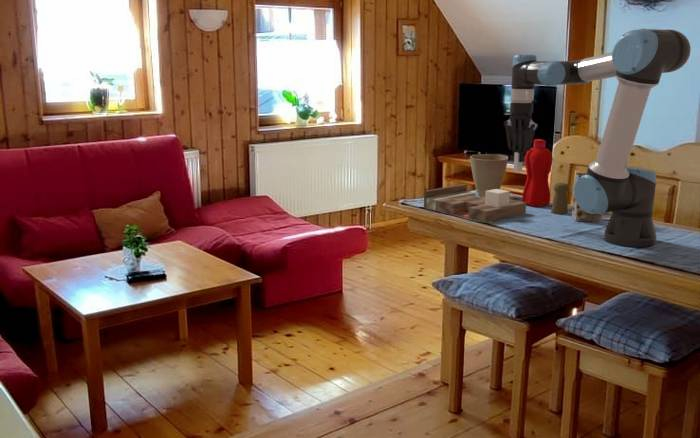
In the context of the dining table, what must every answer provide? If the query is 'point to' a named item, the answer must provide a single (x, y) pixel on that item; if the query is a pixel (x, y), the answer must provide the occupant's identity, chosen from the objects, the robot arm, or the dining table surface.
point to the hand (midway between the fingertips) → (517, 170)
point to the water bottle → (537, 175)
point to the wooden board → (469, 204)
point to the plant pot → (488, 171)
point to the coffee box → (579, 213)
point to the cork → (560, 199)
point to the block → (497, 197)
